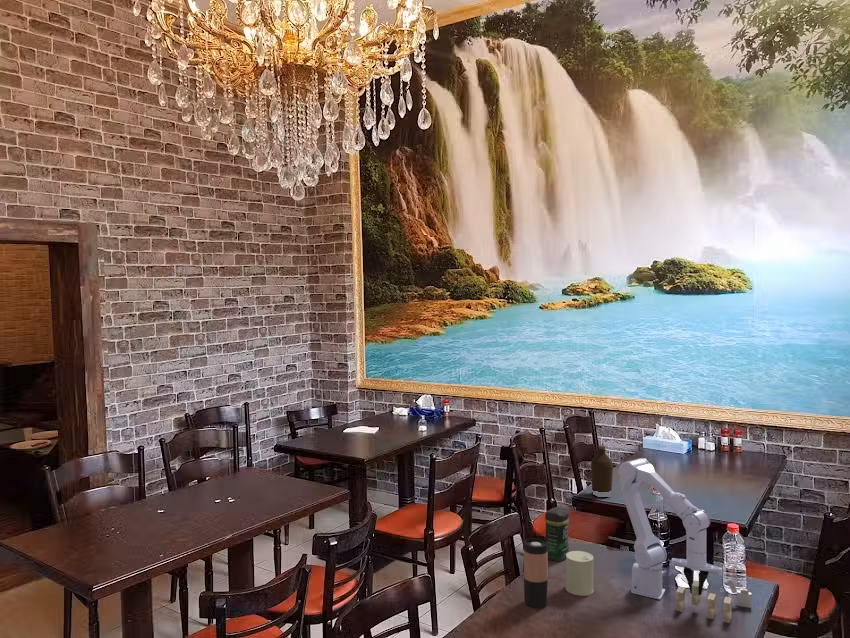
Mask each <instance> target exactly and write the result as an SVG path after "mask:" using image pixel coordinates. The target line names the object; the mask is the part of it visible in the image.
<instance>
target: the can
mask: <svg viewBox="0 0 850 638" xmlns="http://www.w3.org/2000/svg"><path fill="white" fill-rule="evenodd" d="M565 559H566V560H565V561H566V562H565V565H566V566H565V567H566V568H565V569H566V570H565V572H566V575H565V580H566V581H565V590H566V591H567V593H569V594H571V595H574V596H578V597H580V596H581V597H584V596H585V597H586V596H590V595H592V594H593V593H594V591H595V590H594V556H593V554H591V553H589V552H586V551H584V550H583V551H582V550H572V551H569V552H568V553H567V554H566V558H565Z"/></svg>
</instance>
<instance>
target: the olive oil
mask: <svg viewBox="0 0 850 638" xmlns="http://www.w3.org/2000/svg"><path fill="white" fill-rule="evenodd" d="M597 451H598V453H597V454H596V455H595V456H594V457H592V458H591V459H592V460H591V462H590V473H591V474H590V475H591V476H590V477H591V491H592V490H593V491H598V492H609V491H611V490H612V489H613V475H614V474H613V473H614V472H613V471H614V464H613V461H612V459H611V458H610V457H609V456H608V455H607V453H606V445H603V444H599V445H598V449H597Z"/></svg>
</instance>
